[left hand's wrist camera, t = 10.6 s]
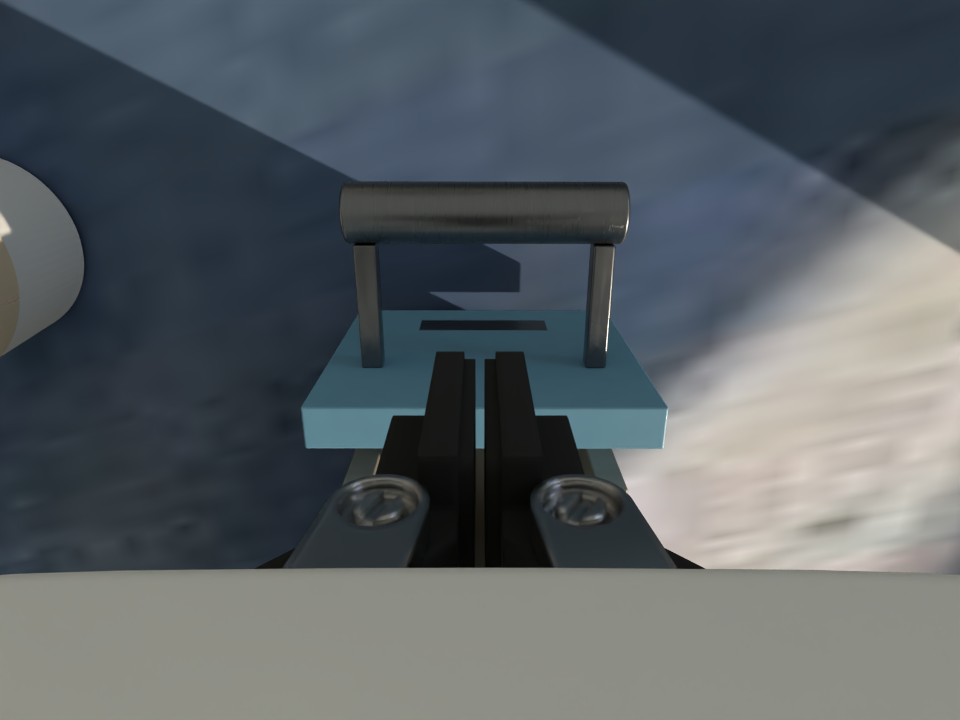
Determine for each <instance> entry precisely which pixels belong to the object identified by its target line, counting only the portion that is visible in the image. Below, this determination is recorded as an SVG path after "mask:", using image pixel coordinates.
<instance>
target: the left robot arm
mask: <svg viewBox="0 0 960 720" xmlns="http://www.w3.org/2000/svg"><path fill="white" fill-rule="evenodd" d="M475 528H476V361H475V359H465V353H464V351H436V356H435V361H434V366H433V372H432V377H431V383H430V388H429V393H428V399H427V404H426V410H425V415H393V417H392V419H391V422H390V426H389V429H388V433H387V436H386V439H385V443H384V446H383V450H382V453H381V457H380V460H379V463H378V467H377V470H376V474H375V475H371V476H365V477H361V478H358V479H355V480H352V481H350V482H348V483H346V484H344V485H343V486H341V487H339V488H338V489H336V491H335V492H334V493H333V494H332V495H331V496H330V497H329V498H328V500H327V501H326V503H325V504H324V506H323V507H322V509H321V510H320V512H319V513H318V515H317V516H316V518H315V520H314V521H313V523H312V524H311V526H310V527H309V529H308V530H307V532H306V533H305V535H304V536H303V538H302V539H301V541H300V542H299V544H298V545H297V547H296V548H295V549H293V550H291V551H289V552H287V553H285V554H283V555H281V556H279V557H277V558H275V559H273V560H271V561H269V562H267V563H265V564H263V565H261V566H259V567H257V568H255V569H219V570H127V571H93V572H61V573H29V574H8V575H0V720H960V575H950V574H934V573H901V572H864V571H827V570H746V569H705V568H703V567H701V566H699V565H697V564H695V563H693V562H691V561H689V560H687V559H685V558H683V557H681V556H679V555H677V554H675V553H673V552H671V551H669V550H667V549H665V548H664V547H663V545H662V544H661V542H660V541H659V539H658V538H657V536H656V535H655V533H654V532H653V530H652V529H651V527H650V526H649V524H648V523H647V521H646V520H645V518H644V516H643V515H642V513H641V512H640V510H639V509H638V507H637V506H636V504H635V503H634V501H633V500H632V498H631V497H630V496H629V495H628V494H627V493H626V492H625V491H624V489H622V488H621V487H619V486H617V485H616V484H614V483H612V482H610V481H608V480H605V479H602V478H599V477H595V476H589V475H585V474H584V470H583V467H582V463H581V460H580V457H579V453H578V450H577V446H576V443H575V439H574V436H573V433H572V429H571V426H570V422H569V419H568V417H567V415H535V410H534V404H533V399H532V393H531V388H530V383H529V377H528V372H527V366H526V361H525V356H524V351H496V353H495V359H485V361H484V528H485V568H475Z"/></svg>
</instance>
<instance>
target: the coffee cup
mask: <svg viewBox="0 0 960 720" xmlns="http://www.w3.org/2000/svg"><path fill="white" fill-rule="evenodd" d="M83 275H84V256H83V249H82V245H81V241H80V238H79V234H78V232H77V229H76V227H75V225H74V223H73V221H72V219H71V217H70V215H69V214H68V212H67V210H66V209H65V207H64V206H63V205H62V203H61V202H60V201H59V199H58V198H57V197H56V196H55V195H54V194H53V193H52V192H51V191H50V189H49V188H48V187H46V186H45V185H44V184H43V183H42V182H41V181H40V180H38V179H37V178H36V177H34V176H33V175H32V174H30V173H29V172H27V171H26V170H24V169H22V168H21V167H19V166H17V165H15V164H13V163H11V162H8V161H6V160H3V159H1V158H0V357H1V356H3V355H4V354H6V353H7V352H9V351H10V350H12V349H14V348H15V347H17V346H18V345H20V344H21V343H23V342H24V341H26V340H28V339H29V338H31V337H32V336H34V335H35V334H37V333H38V332H40V331H42V330H43V329H45V328H46V327H48V326H49V325H51V324H52V323H54V322H56V321H57V320H58V319H60V318H61V317H62V316H63V315H64V314H65V313H66V312H67V311H68V310H69V309H70V308H71V306H72V305H73V303H74V302H75V300H76V298H77V296H78V294H79V291H80V289H81V285H82V281H83Z"/></svg>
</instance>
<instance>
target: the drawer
mask: <svg viewBox="0 0 960 720" xmlns="http://www.w3.org/2000/svg"><path fill="white" fill-rule="evenodd" d="M339 215H340V225H341V230H342V234H343V237H344V239H345V241H346V242H347V243H355V244H354V246H353V251H354V265H355V279H356V292H357V306H358V315H357V317H356V318H355V320H354V322H353V323H352V325H351V326H350V328H349V330H348V331H347V333H346V335H345V336H344V338H343V340H342V341H341V343H340V344H339V346H338V348H337V349H336V351H335V353H334V354H333V356H332V358H331V359H330V361H329V362H328V364H327V366H326V367H325V369H324V371H323V372H322V374H321V375H320V377H319V379H318V380H317V382H316V384H315V385H314V387H313V389H312V390H311V392H310V393H309V395H308V397H307V398H306V400H305V402H304V403H303V405H302V406H301V415H302V424H303V432H304V441H305V447H306V448H356V449H355V452H354V455H353V458H352V460H351V463H350V466H349V468H348V471H347V474H346V476H345V479H344V482H343V484H342V486H343V485H344V484H346V483H348V482H350V481H352V480H355V479H358V478H361V477H365V476H371V475H375V474H376V470H377V467H378V463H379V460H380V457H381V453H382V450H383V446H384V443H385V439H386V436H387V433H388V429H389V426H390V422H391V419H392V417H393V415H425V410H426V404H427V399H428V393H429V388H430V383H431V377H432V372H433V366H434V361H435V356H436V351H464V353H465V359H475V361H476V528H475V568H485V528H484V361H485V359H495V353H496V351H524V356H525V361H526V366H527V372H528V377H529V383H530V388H531V393H532V399H533V404H534V410H535V415H567V417H568V419H569V422H570V426H571V429H572V433H573V436H574V439H575V443H576V446H577V450H578V453H579V457H580V460H581V463H582V467H583V470H584V474H585V475H589V476H595V477H599V478H602V479H605V480H608V481H610V482H612V483H614V484H616V485H617V486H619V487H621V488H622V489H624V491H625V492H626V493H627V492H628V489H627V487H626V484H625V482H624V479H623V477H622V474H621V472H620V469H619V467H618V464H617V461H616V459H615V456H614V454H613V451H612V449H662V448H663V447H664V439H665V431H666V423H667V415H668V407H667V405H666V404H665V402H664V401H663V399H662V398H661V396H660V395H659V393H658V391H657V390H656V388H655V387H654V385H653V384H652V382H651V381H650V379H649V377H648V376H647V374H646V373H645V371H644V370H643V368H642V367H641V365H640V363H639V362H638V360H637V359H636V357H635V356H634V354H633V353H632V351H631V350H630V348H629V346H628V345H627V343H626V342H625V340H624V339H623V337H622V336H621V334H620V332H619V331H618V329H617V328H616V326H615V325H614V323H613V322H612V320H611V319H610V309H611V296H612V284H613V272H614V260H615V245H614V244H620V243H622V242H623V241H624V240H625V238H626V235H627V232H628V227H629V220H630V195H629V190H628V186H627V184H626V183H624V182H354V181H347V182H345V183H343V184H342V187H341V191H340V198H339ZM378 243H422V244H591V246H590V261H589V276H588V291H587V305H586V311H548V310H382V301H381V284H380V267H379V249H378Z"/></svg>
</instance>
